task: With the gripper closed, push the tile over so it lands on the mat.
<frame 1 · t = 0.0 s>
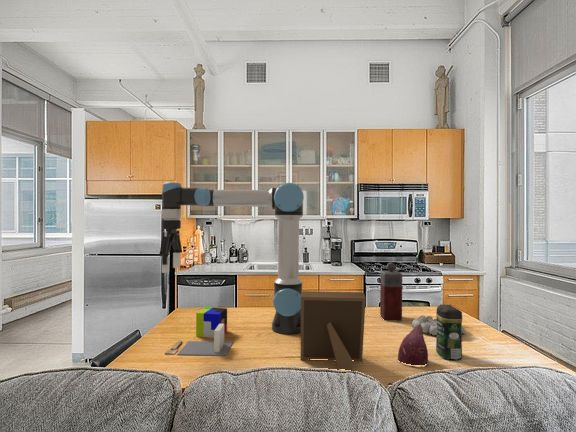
hand: (171, 270, 156), 28 cm above the table, tool pointing down, fingers open, 13 cm apart
mat: (206, 348, 143), on the table
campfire: (437, 332, 166), on the table
puzzle toy: (211, 334, 161), on the table
photo frame: (331, 365, 128), on the table
dark red tall bottle: (390, 318, 187), on the table
tile: (219, 347, 142), resting on mat
wooden turner: (175, 348, 143), on the table
coffee jar: (448, 356, 137), on the table
vegetable: (412, 362, 132), on the table
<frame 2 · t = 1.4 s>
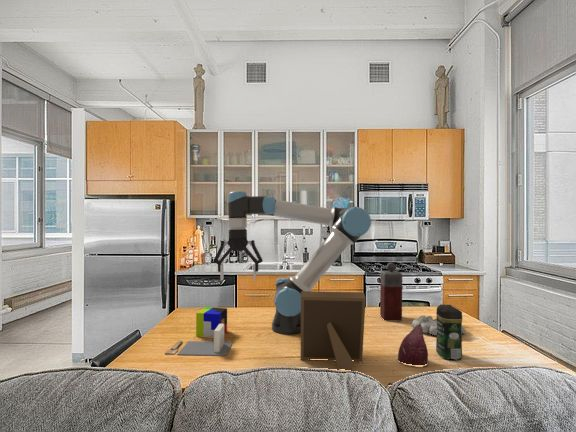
hand: (238, 279, 154), 24 cm above the table, tool pointing down, fingers open, 13 cm apart
nothing on the table moved.
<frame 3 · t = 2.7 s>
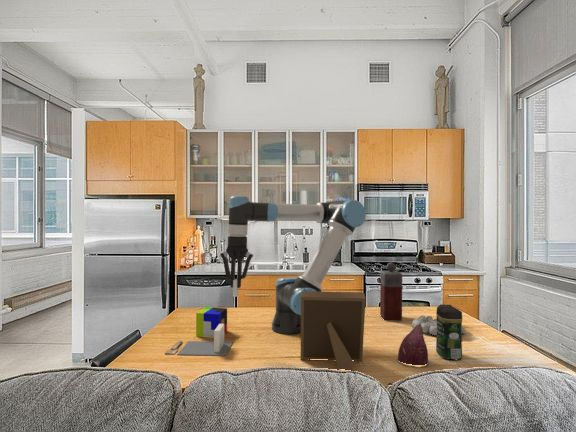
hand: (235, 296, 145), 20 cm above the table, tool pointing down, fingers closed
nothing on the table moved.
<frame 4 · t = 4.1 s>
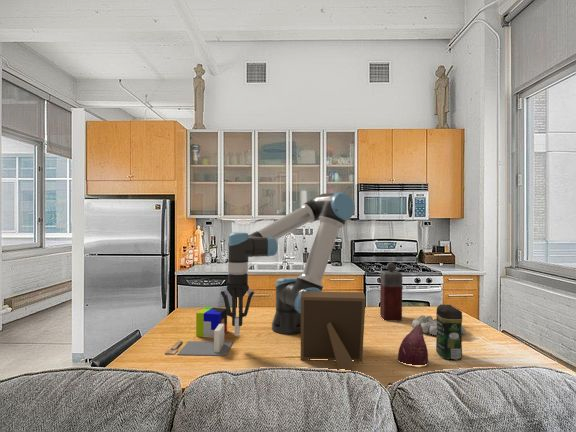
hand: (237, 334, 142), 6 cm above the table, tool pointing down, fingers closed
nothing on the table moved.
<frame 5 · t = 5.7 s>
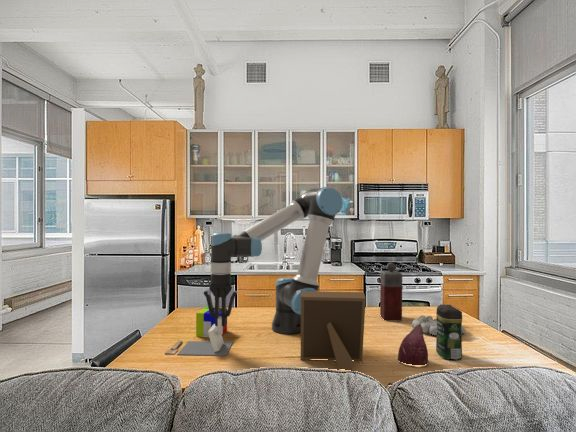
hand: (220, 334, 142), 6 cm above the table, tool pointing down, fingers closed
tile: (219, 347, 142), point 1 cm above the table, tilted 17°, touching mat
everything else where it was.
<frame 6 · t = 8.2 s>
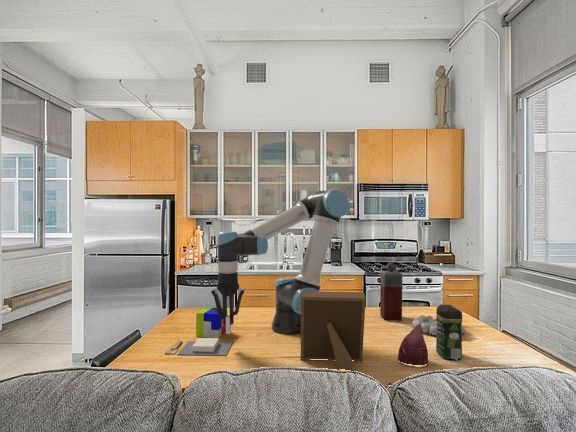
hand: (228, 332, 143), 6 cm above the table, tool pointing down, fingers closed
tile: (216, 344, 142), point 1 cm above the table, tilted 90°, touching mat
everything else where it was.
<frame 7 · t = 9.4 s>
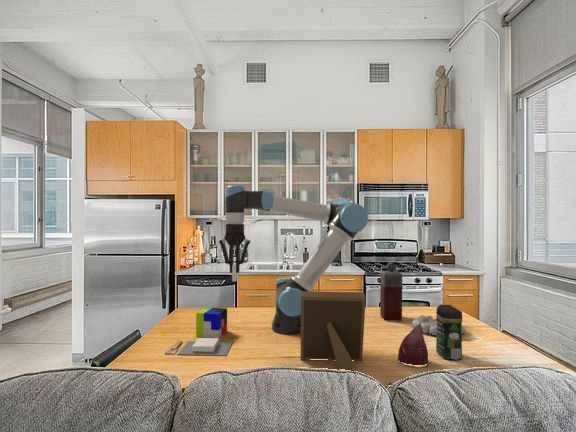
hand: (234, 280, 152), 24 cm above the table, tool pointing down, fingers closed
nothing on the table moved.
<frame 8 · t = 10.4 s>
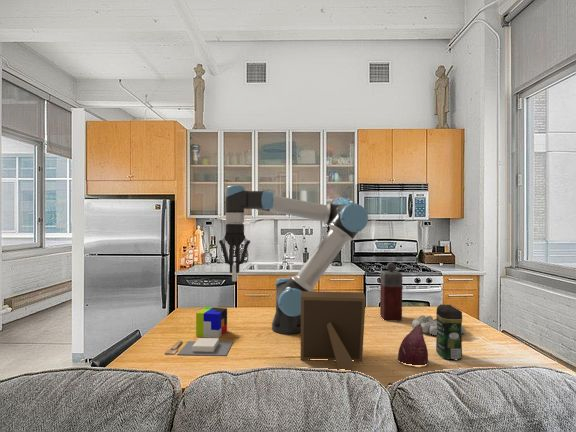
hand: (234, 280, 152), 24 cm above the table, tool pointing down, fingers closed
nothing on the table moved.
at the end: tile tilted 90°; tile inside the target area (4.4 cm from its centre), point 1.5 cm above the table; the gripper is holding nothing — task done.
